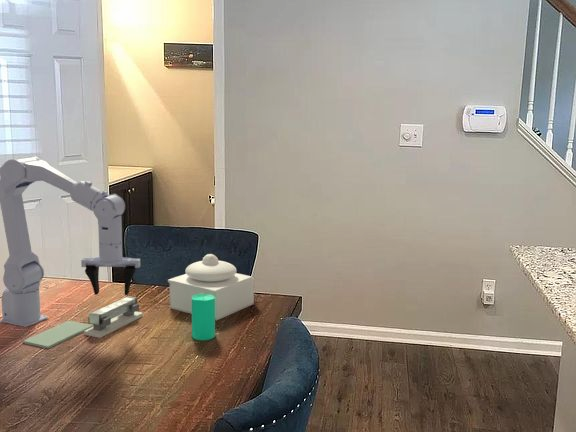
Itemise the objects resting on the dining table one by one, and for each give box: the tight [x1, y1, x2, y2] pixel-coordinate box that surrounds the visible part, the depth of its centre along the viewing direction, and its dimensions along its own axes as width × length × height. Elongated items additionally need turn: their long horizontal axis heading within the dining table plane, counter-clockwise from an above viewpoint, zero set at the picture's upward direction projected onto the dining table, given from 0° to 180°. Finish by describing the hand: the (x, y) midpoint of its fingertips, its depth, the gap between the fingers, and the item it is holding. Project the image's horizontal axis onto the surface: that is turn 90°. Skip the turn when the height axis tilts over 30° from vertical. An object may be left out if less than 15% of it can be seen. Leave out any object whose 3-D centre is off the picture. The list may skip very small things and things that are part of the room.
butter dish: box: [167, 253, 255, 321], centre depth 185 cm, size 18×18×16 cm
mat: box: [22, 320, 93, 350], centre depth 161 cm, size 8×16×1 cm, turn 157°
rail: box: [88, 295, 138, 325], centre depth 168 cm, size 3×16×3 cm, turn 157°
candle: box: [191, 291, 216, 341], centre depth 162 cm, size 6×6×12 cm
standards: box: [83, 302, 144, 339], centre depth 169 cm, size 5×18×4 cm, turn 157°
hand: (111, 293), depth 164 cm, fingers open, 7 cm apart
